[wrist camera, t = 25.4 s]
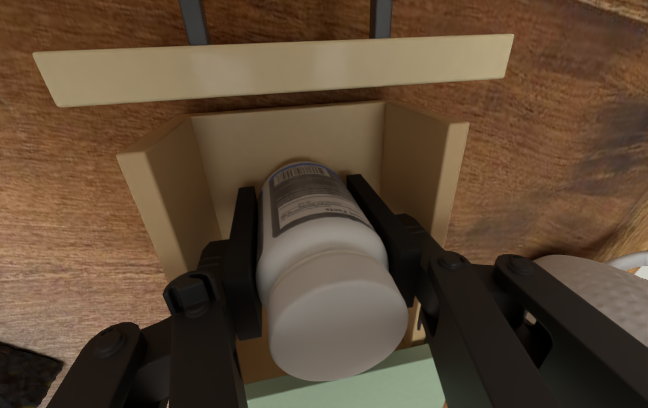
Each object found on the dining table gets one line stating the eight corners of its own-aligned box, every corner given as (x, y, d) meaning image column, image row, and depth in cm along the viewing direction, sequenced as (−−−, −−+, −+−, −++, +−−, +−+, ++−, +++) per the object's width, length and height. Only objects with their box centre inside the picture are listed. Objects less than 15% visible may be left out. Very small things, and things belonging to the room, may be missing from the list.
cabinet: (209, 278, 19) (174, 417, 12) (391, 249, 21) (460, 351, 14) (249, 403, 27) (244, 534, 20) (379, 373, 29) (419, 481, 22)
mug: (621, 184, 23) (972, 307, 12) (627, 258, 28) (873, 391, 17) (468, 283, 25) (638, 469, 14) (500, 334, 30) (643, 499, 19)
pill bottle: (314, 248, 16) (355, 400, 9) (241, 216, 14) (219, 376, 7) (362, 185, 15) (455, 305, 8) (288, 140, 13) (320, 244, 6)
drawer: (85, -132, 9) (-222, -463, 3) (422, -114, 11) (600, -308, 5) (221, 304, 19) (203, 411, 13) (387, 275, 21) (435, 358, 15)
